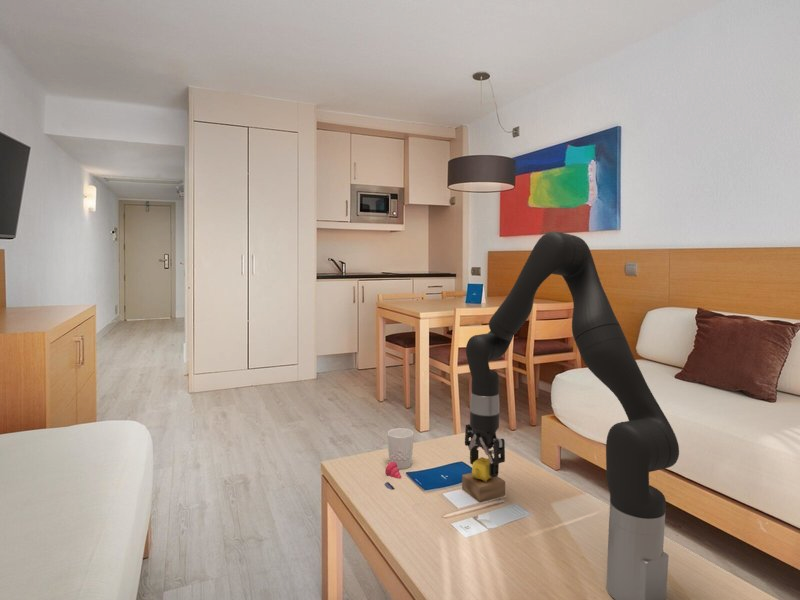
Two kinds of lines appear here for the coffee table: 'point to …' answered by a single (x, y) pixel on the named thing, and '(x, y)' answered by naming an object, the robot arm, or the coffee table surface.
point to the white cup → (400, 447)
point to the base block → (483, 487)
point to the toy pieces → (392, 473)
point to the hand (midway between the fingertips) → (483, 469)
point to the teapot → (481, 469)
